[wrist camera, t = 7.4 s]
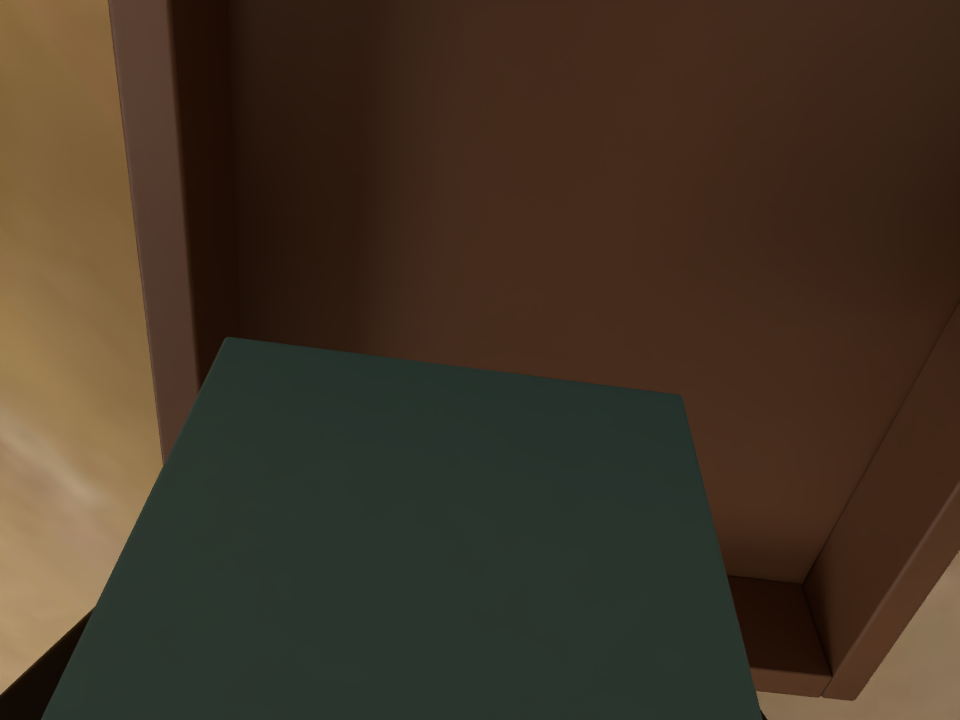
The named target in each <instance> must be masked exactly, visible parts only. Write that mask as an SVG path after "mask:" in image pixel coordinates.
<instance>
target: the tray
mask: <svg viewBox="0 0 960 720" xmlns="http://www.w3.org/2000/svg"><path fill="white" fill-rule="evenodd" d="M108 6H109V14H110V23H111V31H112V40H113V48H114V56H115V65H116V73H117V82H118V90H119V98H120V107H121V115H122V124H123V132H124V140H125V149H126V157H127V166H128V174H129V182H130V191H131V199H132V208H133V216H134V224H135V233H136V241H137V250H138V258H139V266H140V275H141V283H142V292H143V300H144V308H145V317H146V325H147V334H148V342H149V350H150V359H151V367H152V376H153V384H154V392H155V401H156V409H157V418H158V426H159V435H160V443H161V451H162V460H163V466H164V464H165V461H166V459H167V457H168V455H169V453H170V451H171V449H172V447H173V445H174V443H175V441H176V439H177V437H178V435H179V432H180V430H181V428H182V426H183V424H184V422H185V420H186V418H187V416H188V414H189V412H190V410H191V408H192V406H193V404H194V401H195V399H196V397H197V395H198V393H199V391H200V389H201V387H202V385H203V383H204V381H205V379H206V377H207V375H208V372H209V370H210V368H211V366H212V364H213V362H214V360H215V358H216V356H217V354H218V352H219V350H220V348H221V346H222V344H223V341H224V339H225V338H226V337H236V338H244V339H251V340H259V341H267V342H275V343H283V344H290V345H298V346H306V347H314V348H321V349H329V350H337V351H345V352H353V353H360V354H368V355H376V356H384V357H392V358H399V359H407V360H415V361H423V362H430V363H438V364H446V365H454V366H462V367H469V368H477V369H485V370H493V371H501V372H508V373H516V374H524V375H532V376H539V377H547V378H555V379H563V380H571V381H578V382H586V383H594V384H602V385H610V386H617V387H625V388H633V389H641V390H648V391H656V392H664V393H672V394H678V395H681V396H682V398H683V402H684V406H685V410H686V414H687V418H688V422H689V426H690V430H691V434H692V438H693V442H694V446H695V450H696V454H697V458H698V462H699V466H700V470H701V474H702V478H703V482H704V486H705V490H706V494H707V498H708V502H709V506H710V510H711V514H712V518H713V522H714V526H715V530H716V534H717V538H718V542H719V546H720V550H721V554H722V558H723V562H724V566H725V570H726V574H727V578H728V582H729V586H730V590H731V594H732V598H733V602H734V606H735V610H736V614H737V618H738V622H739V626H740V630H741V634H742V638H743V642H744V646H745V650H746V654H747V658H748V662H749V666H750V671H751V675H752V679H753V683H754V687H755V691H762V692H772V693H781V694H790V695H799V696H808V697H817V698H818V697H820V696H822V697H824V698H831V699H840V700H850V701H853V700H856V698H857V697H858V695H859V694H860V692H861V691H862V690H863V688H864V687H865V685H866V684H867V682H868V681H869V679H870V678H871V677H872V675H873V674H874V672H875V671H876V669H877V668H878V667H879V665H880V664H881V662H882V661H883V659H884V658H885V656H886V655H887V654H888V652H889V651H890V649H891V648H892V646H893V645H894V643H895V642H896V641H897V639H898V638H899V636H900V635H901V633H902V632H903V631H904V629H905V628H906V626H907V625H908V623H909V622H910V620H911V619H912V618H913V616H914V615H915V613H916V612H917V610H918V609H919V607H920V606H921V605H922V603H923V602H924V600H925V599H926V597H927V596H928V595H929V593H930V592H931V590H932V589H933V587H934V586H935V584H936V583H937V582H938V580H939V579H940V577H941V576H942V574H943V573H944V571H945V570H946V569H947V567H948V566H949V564H950V563H951V561H952V560H953V559H954V557H955V556H956V554H957V553H958V551H959V550H960V0H108Z"/></svg>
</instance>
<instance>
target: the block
mask: <svg viewBox="0 0 960 720" xmlns="http://www.w3.org/2000/svg"><path fill="white" fill-rule="evenodd" d="M41 720H763V719H762V715H761V711H760V707H759V703H758V699H757V695H756V691H755V687H754V683H753V679H752V675H751V671H750V666H749V662H748V658H747V654H746V650H745V646H744V642H743V638H742V634H741V630H740V626H739V622H738V618H737V614H736V610H735V606H734V602H733V598H732V594H731V590H730V586H729V582H728V578H727V574H726V570H725V566H724V562H723V558H722V554H721V550H720V546H719V542H718V538H717V534H716V530H715V526H714V522H713V518H712V514H711V510H710V506H709V502H708V498H707V494H706V490H705V486H704V482H703V478H702V474H701V470H700V466H699V462H698V458H697V454H696V450H695V446H694V442H693V438H692V434H691V430H690V426H689V422H688V418H687V414H686V410H685V406H684V402H683V398H682V396H681V395H678V394H672V393H664V392H656V391H648V390H641V389H633V388H625V387H617V386H610V385H602V384H594V383H586V382H578V381H571V380H563V379H555V378H547V377H539V376H532V375H524V374H516V373H508V372H501V371H493V370H485V369H477V368H469V367H462V366H454V365H446V364H438V363H430V362H423V361H415V360H407V359H399V358H392V357H384V356H376V355H368V354H360V353H353V352H345V351H337V350H329V349H321V348H314V347H306V346H298V345H290V344H283V343H275V342H267V341H259V340H251V339H244V338H236V337H226V338H225V339H224V341H223V344H222V346H221V348H220V350H219V352H218V354H217V356H216V358H215V360H214V362H213V364H212V366H211V368H210V370H209V372H208V375H207V377H206V379H205V381H204V383H203V385H202V387H201V389H200V391H199V393H198V395H197V397H196V399H195V401H194V404H193V406H192V408H191V410H190V412H189V414H188V416H187V418H186V420H185V422H184V424H183V426H182V428H181V430H180V432H179V435H178V437H177V439H176V441H175V443H174V445H173V447H172V449H171V451H170V453H169V455H168V457H167V459H166V461H165V464H164V466H163V468H162V470H161V472H160V474H159V476H158V478H157V480H156V482H155V484H154V486H153V488H152V490H151V493H150V495H149V497H148V499H147V501H146V503H145V505H144V507H143V509H142V511H141V513H140V515H139V517H138V519H137V521H136V524H135V526H134V528H133V530H132V532H131V534H130V536H129V538H128V540H127V542H126V544H125V546H124V548H123V550H122V553H121V555H120V557H119V559H118V561H117V563H116V565H115V567H114V569H113V571H112V573H111V575H110V577H109V579H108V582H107V584H106V586H105V588H104V590H103V592H102V594H101V596H100V598H99V600H98V602H97V604H96V606H95V608H94V610H93V613H92V615H91V617H90V619H89V621H88V623H87V625H86V627H85V629H84V631H83V633H82V635H81V637H80V639H79V642H78V644H77V646H76V648H75V650H74V652H73V654H72V656H71V658H70V660H69V662H68V664H67V666H66V668H65V671H64V673H63V675H62V677H61V679H60V681H59V683H58V685H57V687H56V689H55V691H54V693H53V695H52V697H51V699H50V702H49V704H48V706H47V708H46V710H45V712H44V714H43V716H42V718H41Z"/></svg>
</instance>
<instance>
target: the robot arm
mask: <svg viewBox="0 0 960 720" xmlns="http://www.w3.org/2000/svg"><path fill="white" fill-rule="evenodd" d="M94 608H95V607H94ZM94 608H93V609H92V610H91V611H90V612H89V613H88V614H87V615H86V616H84V617H83V618H82V619H81V620H80V621H79V622H78V623H77V624H76V625H75V626H74V627H73V628H72V629H71V630H69V631H68V632H67V633H66V634H65V635H64V636H63V637H62V638H61V639H60V640H59V641H58V642H57V643H56V644H54V645H53V646H52V647H51V648H50V649H49V650H48V651H47V652H46V653H45V654H44V655H43V656H42V657H40V658H39V659H38V660H37V661H36V662H35V663H34V664H33V665H32V666H31V667H30V668H29V669H28V670H27V671H25V672H24V673H23V674H22V675H21V676H20V677H19V678H18V679H17V680H16V681H15V682H14V683H13V684H12V685H10V686H9V687H8V688H7V689H6V690H5V691H4V692H3V693H2V694H1V695H0V720H41V718H42V716H43V714H44V712H45V710H46V708H47V706H48V704H49V702H50V699H51V697H52V695H53V693H54V691H55V689H56V687H57V685H58V683H59V681H60V679H61V677H62V675H63V673H64V671H65V668H66V666H67V664H68V662H69V660H70V658H71V656H72V654H73V652H74V650H75V648H76V646H77V644H78V642H79V639H80V637H81V635H82V633H83V631H84V629H85V627H86V625H87V623H88V621H89V619H90V617H91V615H92V613H93V610H94ZM760 711H761V710H760ZM761 715H762V719H763V720H767V718H766V717H765V715H764V714H763V712H762V711H761Z"/></svg>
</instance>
